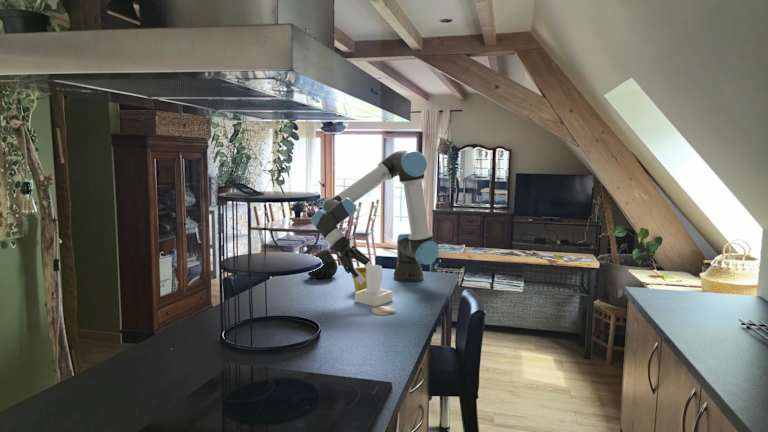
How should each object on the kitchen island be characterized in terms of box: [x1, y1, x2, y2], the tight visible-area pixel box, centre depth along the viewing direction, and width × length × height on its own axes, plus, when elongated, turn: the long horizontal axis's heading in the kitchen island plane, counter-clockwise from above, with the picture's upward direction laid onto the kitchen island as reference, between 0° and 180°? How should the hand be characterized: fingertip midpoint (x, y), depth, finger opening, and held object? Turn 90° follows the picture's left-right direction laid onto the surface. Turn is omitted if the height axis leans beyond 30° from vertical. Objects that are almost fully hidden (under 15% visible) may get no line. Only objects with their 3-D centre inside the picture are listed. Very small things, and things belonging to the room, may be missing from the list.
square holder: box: [354, 288, 393, 307], centre depth 215 cm, size 11×11×4 cm
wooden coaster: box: [370, 305, 397, 316], centre depth 201 cm, size 10×10×1 cm
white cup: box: [366, 264, 383, 296], centre depth 214 cm, size 7×7×15 cm
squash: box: [307, 249, 338, 279], centre depth 255 cm, size 14×15×15 cm
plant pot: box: [351, 267, 367, 292], centre depth 231 cm, size 10×10×10 cm
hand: (369, 278), depth 214 cm, fingers open, 13 cm apart
